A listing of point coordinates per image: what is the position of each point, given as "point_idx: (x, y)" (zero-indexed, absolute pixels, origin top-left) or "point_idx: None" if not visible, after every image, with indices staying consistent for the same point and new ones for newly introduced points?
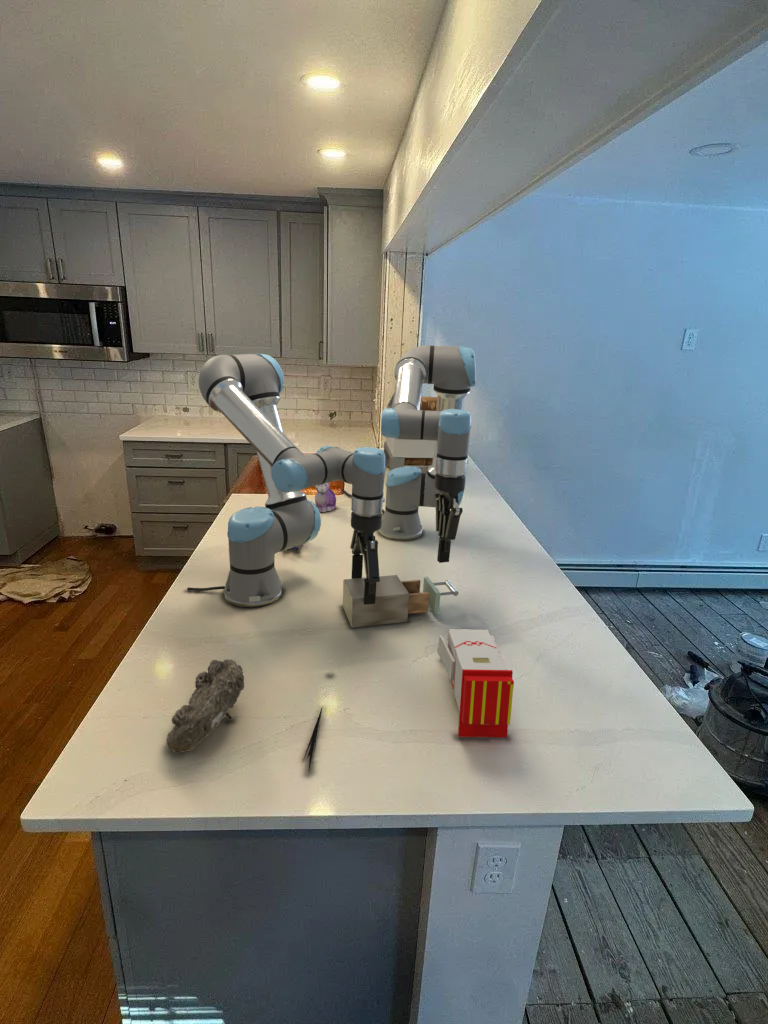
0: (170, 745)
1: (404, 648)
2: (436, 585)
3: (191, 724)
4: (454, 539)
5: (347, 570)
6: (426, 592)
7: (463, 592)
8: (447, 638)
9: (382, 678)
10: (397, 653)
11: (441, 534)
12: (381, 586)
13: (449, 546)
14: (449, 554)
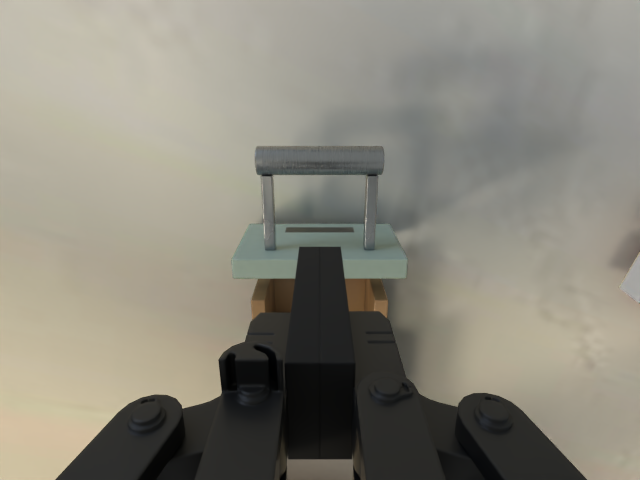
0: None
1: (524, 371)
2: (274, 217)
3: None
4: (512, 412)
5: (7, 412)
6: (378, 310)
7: (208, 27)
8: (622, 290)
9: (620, 446)
10: (539, 393)
11: (285, 470)
12: (324, 472)
13: (395, 348)
14: (343, 273)
